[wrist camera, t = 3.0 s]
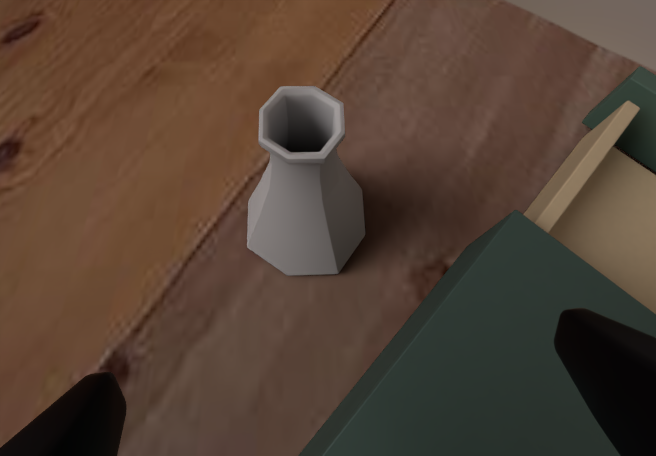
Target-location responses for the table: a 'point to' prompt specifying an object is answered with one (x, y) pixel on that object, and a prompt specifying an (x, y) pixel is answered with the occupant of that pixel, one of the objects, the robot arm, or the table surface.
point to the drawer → (610, 190)
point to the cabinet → (485, 359)
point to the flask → (304, 186)
